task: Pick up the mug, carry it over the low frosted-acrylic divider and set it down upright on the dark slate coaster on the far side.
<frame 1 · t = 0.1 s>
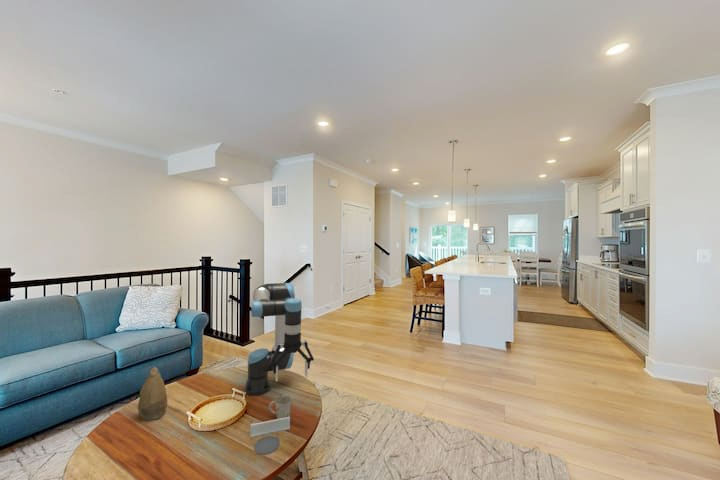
hand: (291, 377, 132), 28 cm above the table, fingers open, 13 cm apart
mug: (279, 418, 146), on the table
divider: (270, 431, 136), on the table
sculpture: (152, 416, 146), on the table
coaster: (267, 445, 127), on the table
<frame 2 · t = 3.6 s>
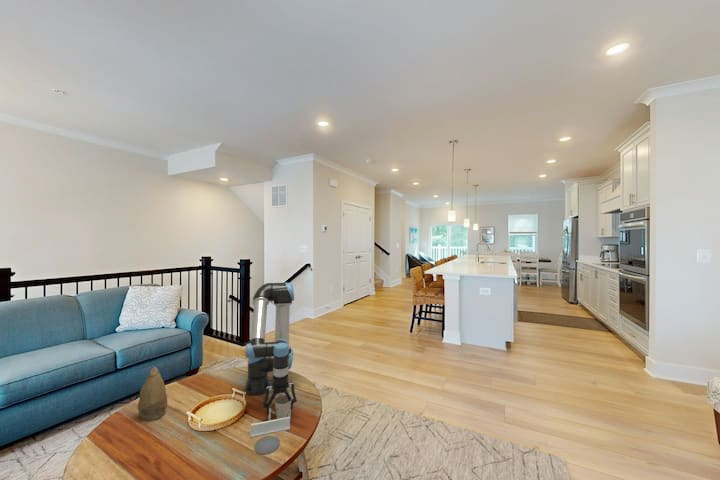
hand: (279, 417, 146), 0 cm above the table, fingers open, 9 cm apart
mug: (279, 418, 146), on the table, touching gripper
everything else where it was.
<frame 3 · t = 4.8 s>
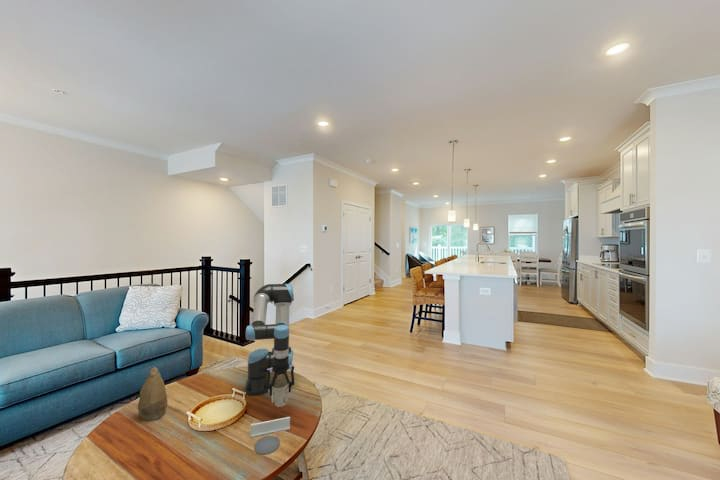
hand: (279, 399, 147), 9 cm above the table, fingers closed on mug, 7 cm apart
mug: (277, 403, 147), point 7 cm above the table, touching gripper
everything else where it was.
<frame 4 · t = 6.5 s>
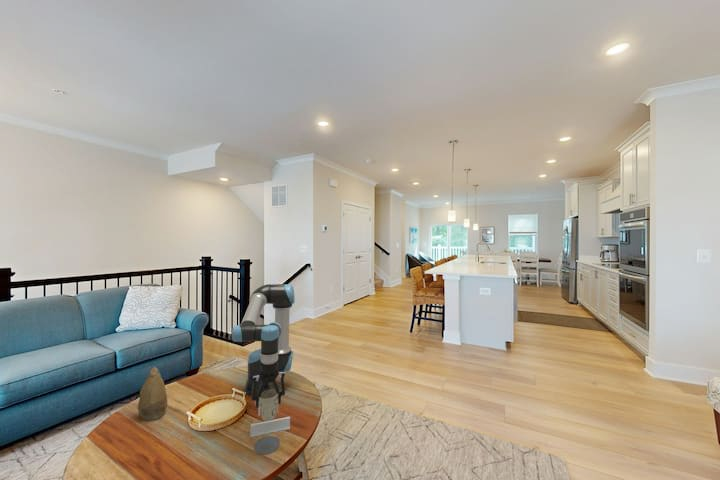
hand: (268, 412, 127), 15 cm above the table, fingers closed on mug, 7 cm apart
mug: (265, 416, 127), point 13 cm above the table, touching gripper
everything else where it was.
when the fingers open (2 cm above the table, at t = 8.6 s): mug stays where it is, resting on coaster.
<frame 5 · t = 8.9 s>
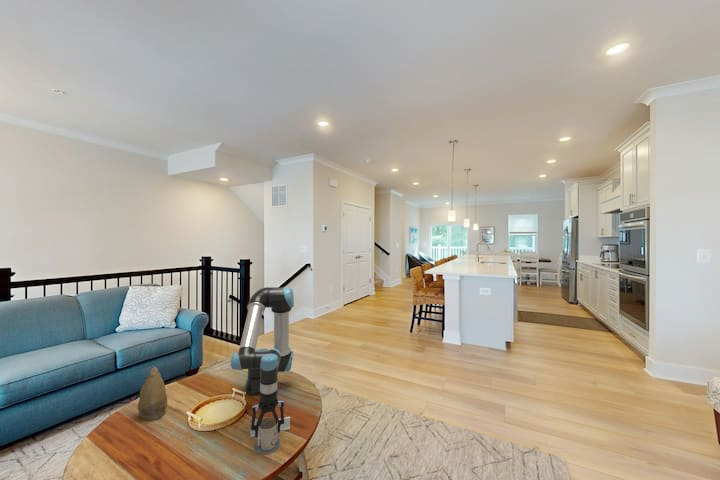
hand: (267, 441, 127), 2 cm above the table, fingers open, 7 cm apart
mug: (264, 444, 127), resting on coaster, touching gripper
everything else where it was.
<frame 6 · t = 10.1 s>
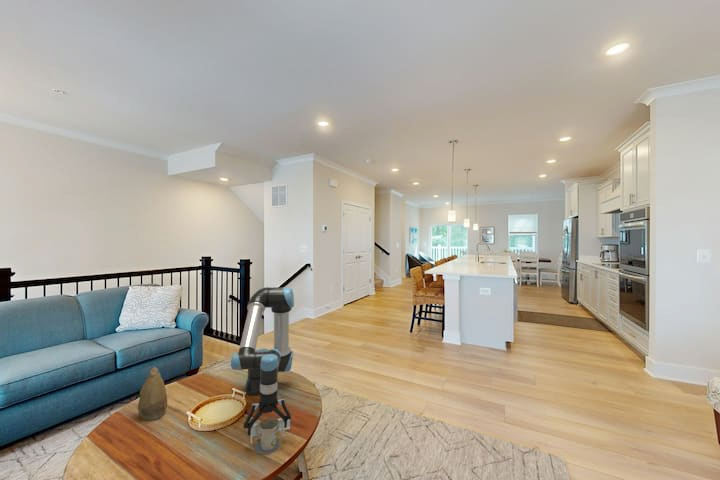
hand: (267, 438, 127), 3 cm above the table, fingers open, 13 cm apart
mug: (264, 444, 127), resting on coaster
everything else where it was.
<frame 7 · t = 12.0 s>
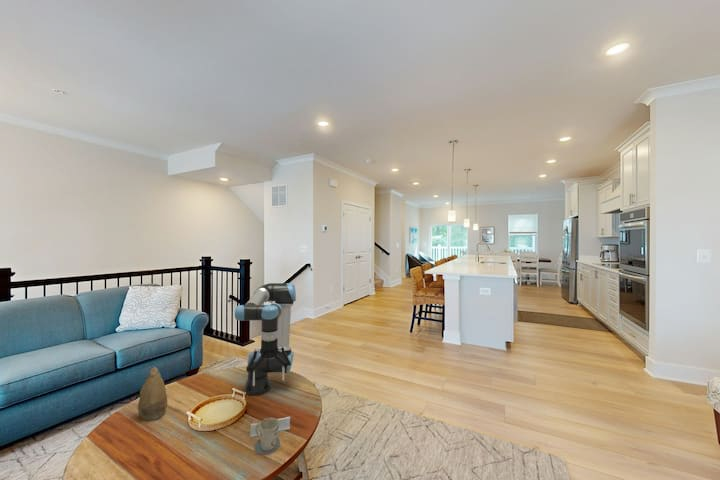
hand: (268, 382, 136), 24 cm above the table, fingers open, 13 cm apart
nothing on the table moved.
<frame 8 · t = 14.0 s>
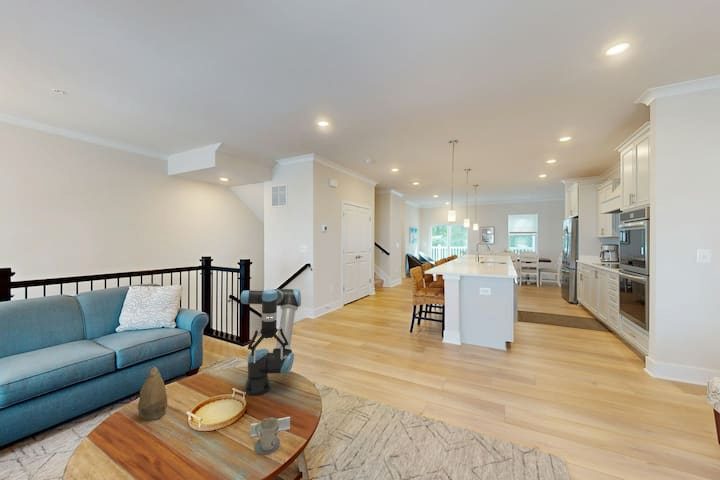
hand: (268, 360, 149), 29 cm above the table, fingers open, 13 cm apart
nothing on the table moved.
at the end: mug 1.1 cm from the coaster (horizontally); mug tilted 0°; mug touching coaster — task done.
